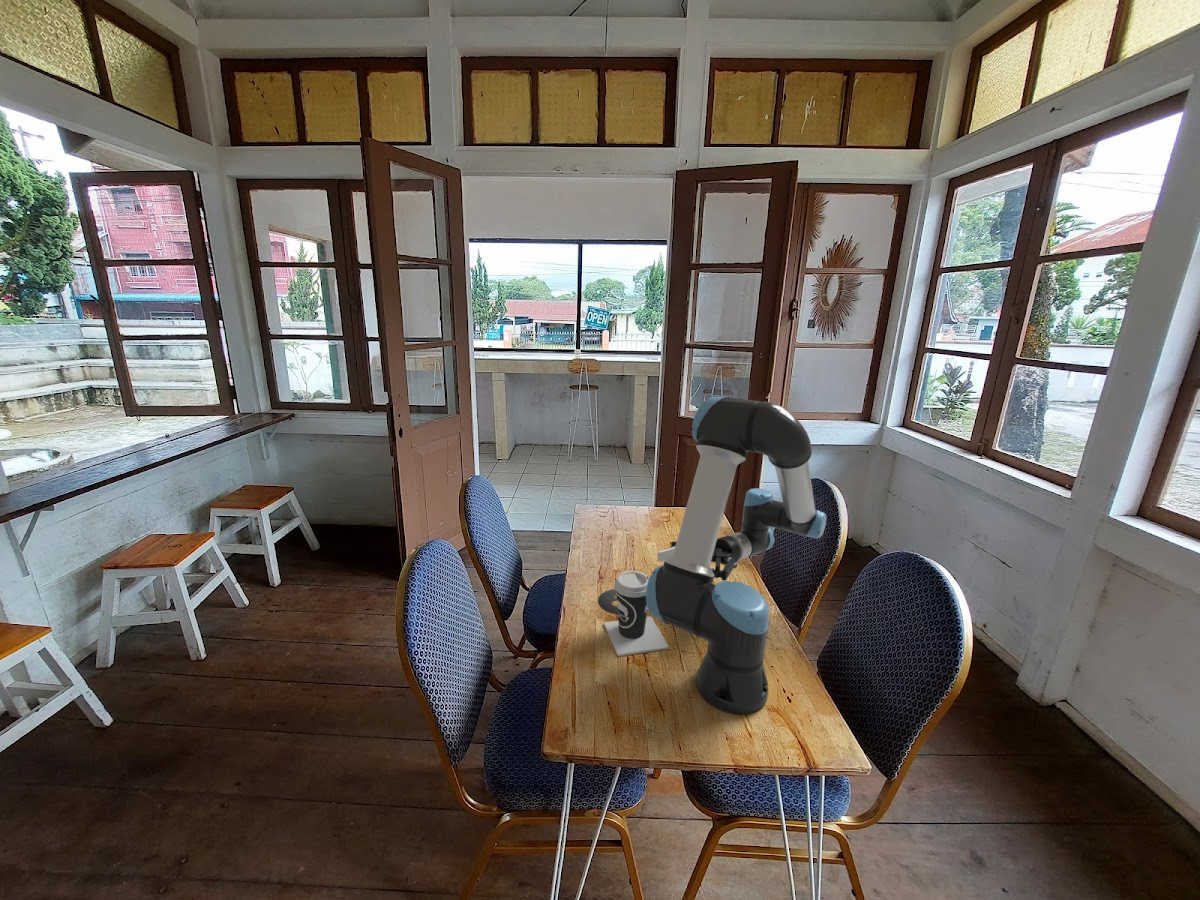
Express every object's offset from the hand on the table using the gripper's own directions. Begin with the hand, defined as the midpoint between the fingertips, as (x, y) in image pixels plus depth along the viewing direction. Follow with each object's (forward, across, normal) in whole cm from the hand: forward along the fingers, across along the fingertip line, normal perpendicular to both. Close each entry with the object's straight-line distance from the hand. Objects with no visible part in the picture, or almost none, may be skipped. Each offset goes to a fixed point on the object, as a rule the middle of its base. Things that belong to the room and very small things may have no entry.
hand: (675, 567), depth 129 cm
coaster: (+6, +14, -16) cm, 22 cm away
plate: (+13, 0, -16) cm, 20 cm away
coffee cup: (+13, +1, -15) cm, 20 cm away
